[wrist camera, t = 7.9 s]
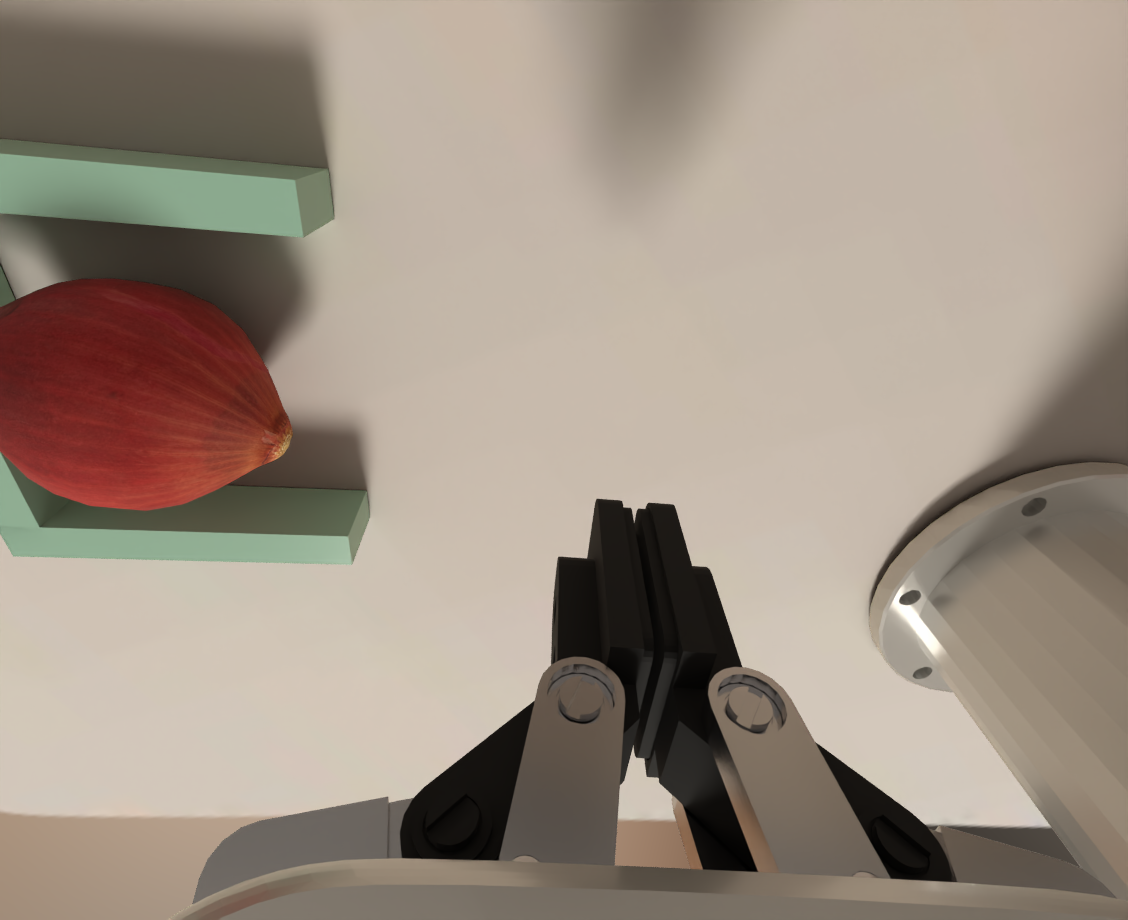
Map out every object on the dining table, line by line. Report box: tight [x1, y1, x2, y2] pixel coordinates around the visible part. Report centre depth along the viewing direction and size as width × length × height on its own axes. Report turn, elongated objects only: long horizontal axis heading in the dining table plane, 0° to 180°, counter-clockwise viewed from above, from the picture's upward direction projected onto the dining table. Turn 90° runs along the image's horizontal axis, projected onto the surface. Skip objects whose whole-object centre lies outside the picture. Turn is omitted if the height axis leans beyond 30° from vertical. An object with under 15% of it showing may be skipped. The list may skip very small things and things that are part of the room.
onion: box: [0, 279, 293, 511], centre depth 14 cm, size 6×6×8 cm
